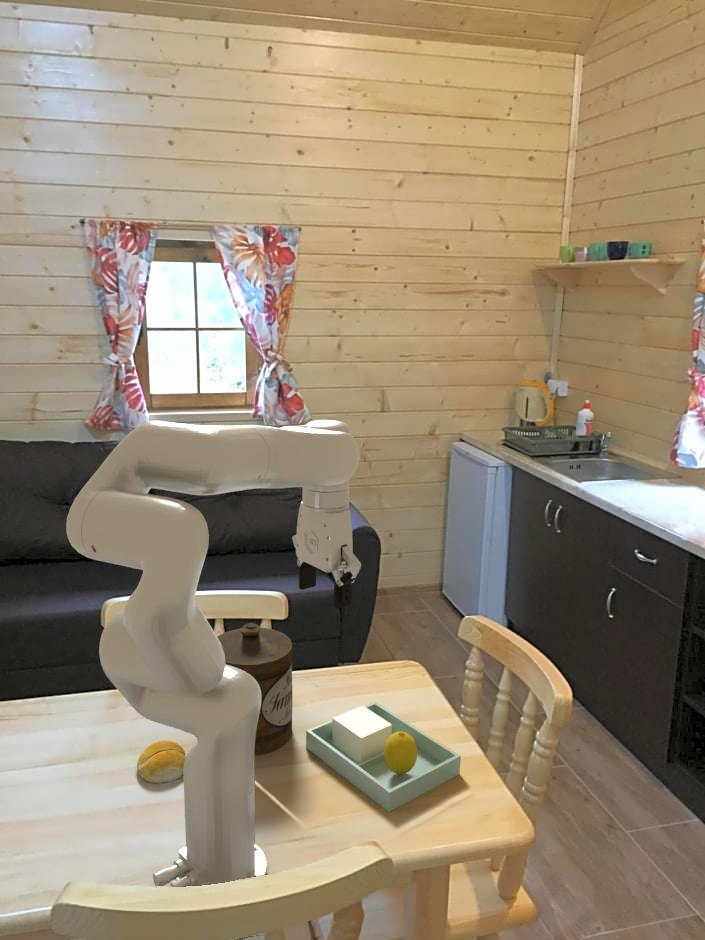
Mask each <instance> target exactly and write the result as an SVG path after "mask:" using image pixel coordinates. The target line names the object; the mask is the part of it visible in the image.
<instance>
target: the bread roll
mask: <svg viewBox="0 0 705 940" xmlns="http://www.w3.org/2000/svg"><path fill="white" fill-rule="evenodd" d="M186 756H187V755H186V751H185V749H184V748H183V747H182V746H181V745H180V744H179V743H177V742H175V741H173V740H172V741H171V740H159V741H156V742H155V741H154V742H153V743H151V744H150V745H148V746H146V748H145V749H144V750H143V751H142V752H141V754H140V756H139V757H138V760H137V762H136V763H137V765H136V768H137V771H138V773H139V776H141V778H142V779H143V780H145V781H146V782H149V783H151V784H162V783H168V782H172V781H176V780H178V779H180V778H181V777H182V776H183V767H184V761H185V758H186Z"/></svg>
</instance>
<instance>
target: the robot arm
mask: <svg viewBox="0 0 705 940" xmlns="http://www.w3.org/2000/svg"><path fill="white" fill-rule="evenodd" d="M360 455H361V454H360V448H359V444H358V442H357V441H356V439H355V438H354V437H353V435H351V429H350V427H349V425H348V424H347V423H346V422H343V421H340V420H337V419H336V420H334V419H316V420H311V421H309V422H307V423H306V424H303V425H287V426H281V427H275V426H269V425H260V424H240V425H238V424H237V425H219V424H218V425H202V424H189V423H179V422H174V421H173V422H172V421H163V420H149V421H145V422H143V423H141V424H139V425H137V426H136V427H134V429H132V430H131V431H130V432H129V433H128V434H126V435H125V437H123V439H121V440H120V442H119V443H117V445H116V446H115V447H114V448H113V449H112V451H111V452H110V453H109V454H108V456H106V458H105V460H104V461H103V462H102V463H101V465H100V466H99V467H98V469H97V470H96V471H95V472H94V473H93V474H92V476H91V477H90V478H89V480H87V482H86V483H85V485H84V486H83V487H82V488H81V490H80V491H79V493H78V494H77V496H75V498H74V500H73V502H72V504H71V506H70V508H69V511H68V514H67V517H66V526H65V527H66V528H65V529H66V536H67V539H68V541H69V543H70V545H71V547H72V548H73V549H74V550H76V552H77V553H78V554H80V555H82V556H84V557H86V558H88V559H91V560H95V561H98V562H104V563H107V564H108V563H109V564H113V565H119V566H123V567H127V568H131V569H137V570H142V575H141V577H140V580H139V582H138V585H137V587H136V588H135V589H134V591H133V592H132V593H131V595H130V596H129V597H128V599H127V601H126V603H125V606H124V608H123V609H121V610H120V611H118V612H116V613H115V614H114V615H113V616H112V617H111V618H110V619H109V620H108V622H107V623H106V625H105V626H104V628H103V630H102V633H101V636H100V639H99V646H98V647H99V650H98V651H99V652H98V653H99V654H98V655H99V660H100V665H101V667H102V670H103V672H104V674H105V675H106V677H107V678H108V680H109V681H110V682H111V684H112V685H113V686H114V687H115V688H116V689H117V692H119V693H120V694H121V696H123V698H124V699H125V700H126V701H127V702H128V704H129V705H130V706H131V707H132V708H133V709H134V711H136V712H137V713H138V715H140V716H142V717H143V718H144V719H146V720H149V721H152V722H153V723H154V722H155V723H157V724H161V725H164V726H167V727H170V728H174V729H175V730H176V729H177V730H180V731H182V732H184V733H187V734H190V735H193V736H194V737H195V739H196V740H197V742H196V743H195V744H194V745H193V746H192V747H191V748H190V749H189V751H188V752H187V755H185V756H186V758H185V761H184V767H183V775H182V776H183V798H184V799H183V801H184V802H183V803H184V822H185V823H184V824H185V825H184V826H185V831H184V832H185V847H182V848H180V849H179V851H178V855H179V857H178V858H179V859H177V860H175V861H173V865H171V866H168V867H164V868H162V869H160V870H158V871H157V872H155V873H153V874H152V879H153V880H152V881H153V883H154V885H155V887H156V886H162V887H163V886H165V885H167V884H170V887H171V886H172V887H186V886H202V885H211V884H218V883H225V882H230V881H235V880H239V879H245V878H251V877H256V876H260V875H265V874H266V875H267V869H268V867H267V866H268V865H267V859H266V855H265V853H264V852H263V851H262V849H261V848H260V847H259V846H258V845H257V844H256V810H255V809H256V805H255V804H256V802H255V799H256V798H255V797H256V795H255V790H256V789H255V756H254V750H255V737H256V729H257V723H258V718H259V713H260V708H261V696H262V695H261V689H260V686H259V684H258V682H257V681H256V680H255V679H254V678H253V677H252V676H251V675H250V674H248V673H247V672H245V671H243V670H241V669H239V668H236V667H233V666H230V665H226V664H225V663H226V662H225V654H224V651H223V648H222V645H221V643H220V641H219V639H218V636H217V634H216V633H215V631H214V630H213V627H212V626H211V624H210V623H209V621H208V619H207V618H206V616H205V615H204V612H203V611H202V609H201V608H200V606H199V604H198V602H197V600H196V593H197V590H198V589H197V588H198V584H199V580H200V577H201V573H202V571H203V567H204V563H205V560H206V557H207V553H208V549H209V541H210V534H209V528H208V523H207V521H206V518H205V517H204V514H203V513H202V511H200V510H199V509H198V508H196V507H195V506H194V505H192V504H190V503H188V502H186V501H183V500H180V499H177V498H174V497H169V496H164V495H156V494H150V493H149V492H150V490H151V489H156V490H162V491H163V490H164V491H169V492H173V493H181V494H186V495H187V494H188V495H194V496H214V495H221V494H226V493H227V494H228V493H233V492H234V493H235V492H239V491H246V490H253V489H287V488H290V489H291V488H302V500H301V502H300V506H299V508H298V509H299V510H298V515H297V522H296V534H295V535H292V537H291V539H292V543H293V546H294V555H296V558H297V560H296V564H297V566H298V588H299V589H300V590H302V591H303V590H307V589H310V588H314V587H316V586H317V569H318V570H320V571H322V572H325V573H332V574H333V577H334V579H335V583H336V584H334V585H333V608H335V609H337V610H338V609H341V608H345V607H348V606H351V604H352V601H353V600H352V598H353V596H352V593H353V590H352V588H353V587H352V586H353V585H352V584H353V583H355V580H356V579H357V578H358V576H359V573H360V570H361V567H362V562H361V561H360V560H359V558H358V557H357V556H356V555H355V554H354V553H353V552H354V551H353V547H354V544H353V527H352V517H351V510H350V508H349V507H350V480H351V479H352V477H353V476H354V474H355V473H356V471H357V469H358V467H359V463H360V458H361V457H360ZM340 571H343V572H344V574H343V575H342V574H341V572H340Z"/></svg>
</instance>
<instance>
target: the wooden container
mask: <svg viewBox="0 0 705 940" xmlns="http://www.w3.org/2000/svg"><path fill="white" fill-rule="evenodd" d="M217 637H218V639H219V641H220V643H221V645H222V648H223V651H224V654H225V662H226V663H225V664H226V665H230V666H233V667H236V668H239V669H241V670H243V671H245V672H247V673H248V674H250V675H251V676H252V677H253V678H254V679H255V680H256V681H257V682H258V684H259V686H260V689H261V695H262V696H261V708H260V713H259V718H258V723H257V729H256V737H255V750H254V757H256V756H261V755H266V754H270V753H273V752H275V751H277V750H279V749H281V748H282V747H284V746H285V745H286V744H288V741H290V739H291V737H292V734H293V663H292V662H293V643H292V640H291V638H290V637H289V636H288V635H286V633H284V632H282V631H279V630H276V629H272V628H266V627H261V626H260V625H259V624H257V623H254V622H248V623H246V624H244V625H243V626H241V628H237V629H232V630H229V631H226V632H223V633H221V634H219V635H218V636H217Z"/></svg>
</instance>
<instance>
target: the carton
mask: <svg viewBox="0 0 705 940" xmlns="http://www.w3.org/2000/svg"><path fill="white" fill-rule="evenodd" d="M364 706H365V705H361V706H358V707H355V708H353V709H351V710H348V711H346V712H344V713H342V714H339V715H336V716H334V717H332V719H331V720H332V743H333V744H334V745H335V746H337V747H338V748H339V749H341V750H342V751H344V752H345V753H346V754H348V755H349V756H350V757H352V758H353V759H354V760H356V761H357V762H358V763H362V762H364V761H366V760H368V759H370V758H372V757H375V756H377V755H379V754H381V753H383V752H384V748H385V744H386V741H387V739H388V738H389V736H391V735H392V724H390V723H389V722H387V721H386V720H384V719H383V718H381V717H380V716H378V715H377V714H375V713H374V712H372V711H370V710H369V709H367V708H366V707H364Z"/></svg>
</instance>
